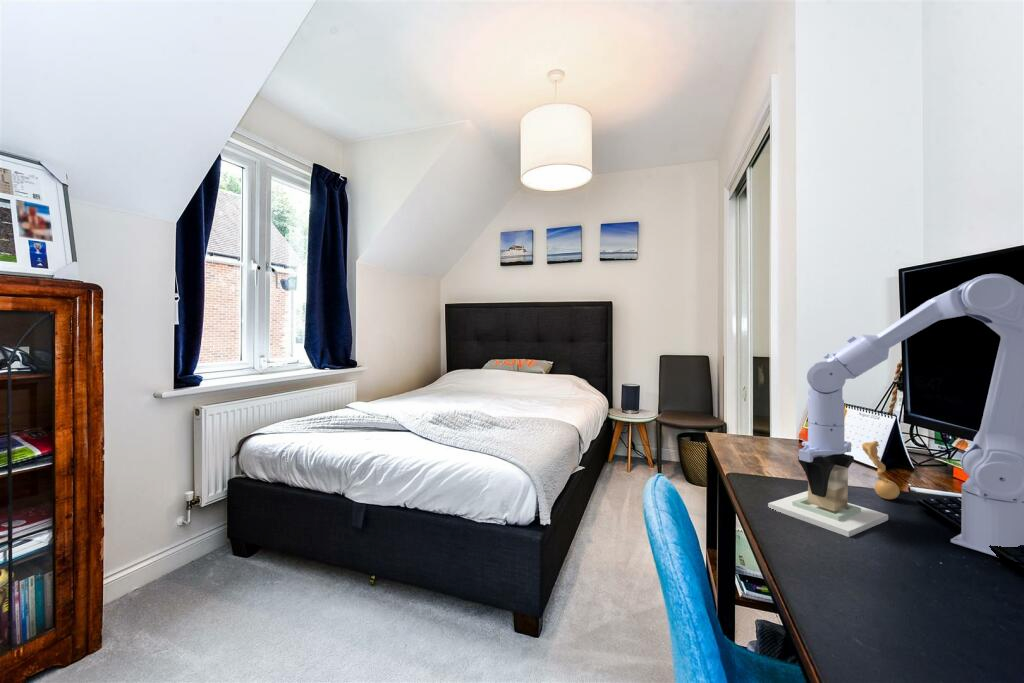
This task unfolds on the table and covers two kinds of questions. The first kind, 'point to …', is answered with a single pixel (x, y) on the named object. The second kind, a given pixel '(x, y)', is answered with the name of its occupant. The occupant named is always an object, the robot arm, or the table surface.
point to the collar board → (829, 515)
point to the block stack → (833, 490)
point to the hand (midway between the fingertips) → (825, 492)
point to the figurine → (884, 485)
